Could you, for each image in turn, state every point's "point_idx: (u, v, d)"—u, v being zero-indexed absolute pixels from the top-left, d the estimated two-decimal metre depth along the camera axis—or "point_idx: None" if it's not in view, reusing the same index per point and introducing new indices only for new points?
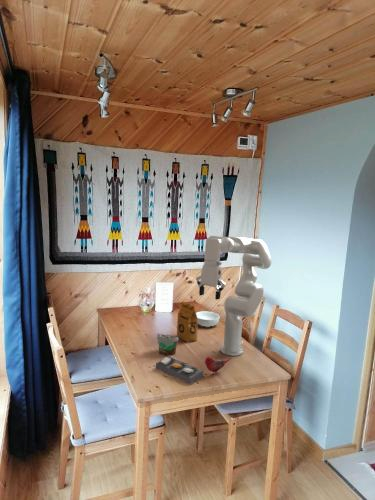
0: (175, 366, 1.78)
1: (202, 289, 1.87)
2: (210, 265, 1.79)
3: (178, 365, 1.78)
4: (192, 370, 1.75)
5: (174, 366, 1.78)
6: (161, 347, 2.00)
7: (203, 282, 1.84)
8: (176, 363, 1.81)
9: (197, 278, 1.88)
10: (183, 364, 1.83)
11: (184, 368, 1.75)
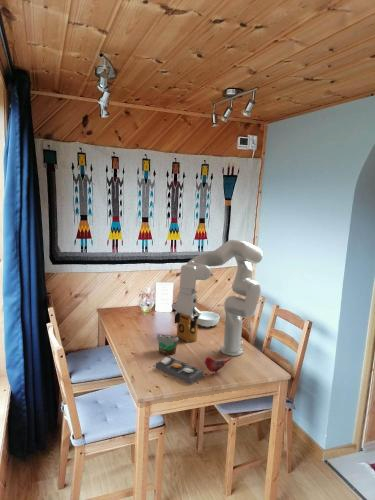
0: (175, 366, 1.78)
1: (177, 317, 1.82)
2: (185, 293, 1.74)
3: (178, 365, 1.78)
4: (192, 370, 1.75)
5: (174, 366, 1.78)
6: (161, 347, 2.00)
7: (178, 310, 1.79)
8: (176, 363, 1.81)
9: (173, 305, 1.83)
10: (183, 364, 1.83)
11: (184, 368, 1.75)
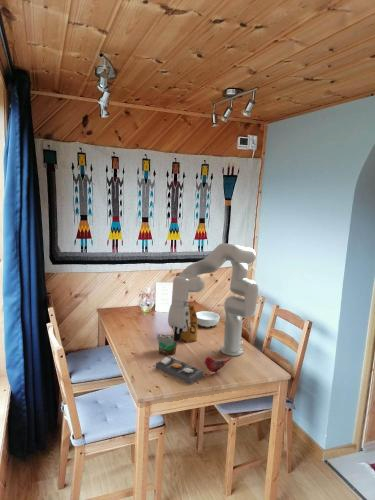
0: (175, 366, 1.78)
1: None
2: (177, 306, 1.71)
3: (178, 365, 1.78)
4: (192, 370, 1.75)
5: (174, 366, 1.78)
6: (161, 347, 2.00)
7: (170, 323, 1.76)
8: (176, 363, 1.81)
9: None
10: (183, 364, 1.83)
11: (184, 368, 1.75)
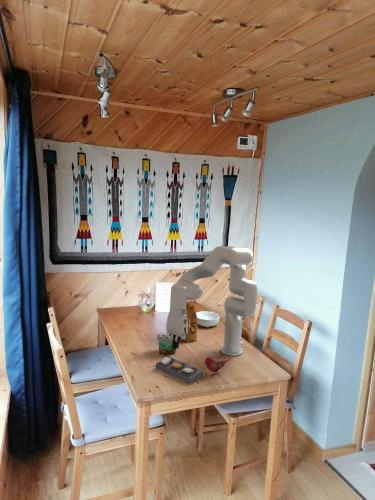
0: (175, 366, 1.78)
1: None
2: (175, 314, 1.71)
3: (178, 365, 1.78)
4: (192, 370, 1.75)
5: (174, 366, 1.78)
6: (161, 347, 2.00)
7: (169, 330, 1.76)
8: (176, 363, 1.81)
9: None
10: (183, 364, 1.83)
11: (184, 368, 1.75)
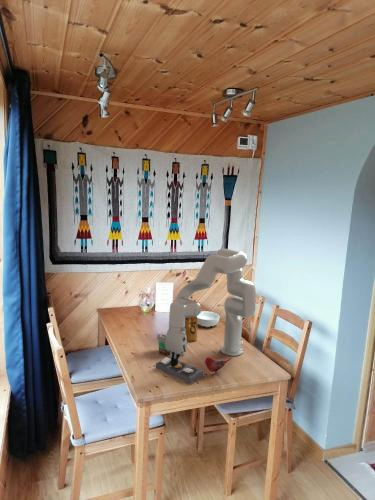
0: (175, 366, 1.78)
1: None
2: (174, 332, 1.72)
3: (178, 365, 1.78)
4: (192, 370, 1.75)
5: (174, 366, 1.78)
6: (161, 347, 2.00)
7: (168, 348, 1.77)
8: None
9: None
10: (183, 364, 1.83)
11: (184, 368, 1.75)
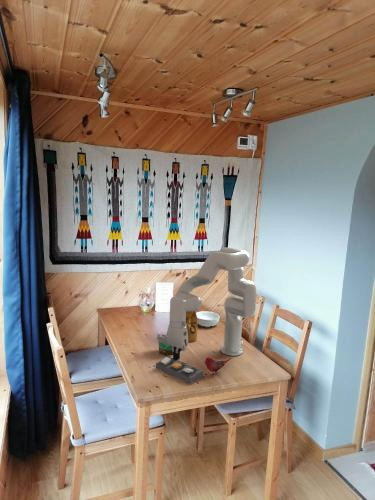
0: (175, 367, 1.78)
1: None
2: (175, 326, 1.72)
3: (178, 365, 1.78)
4: (192, 370, 1.75)
5: (174, 367, 1.78)
6: (161, 347, 2.00)
7: (169, 342, 1.77)
8: (176, 363, 1.81)
9: None
10: (183, 364, 1.83)
11: (184, 368, 1.75)
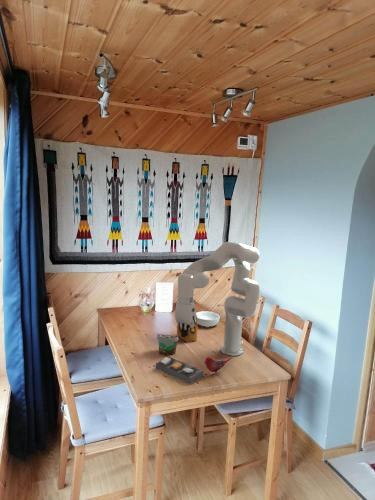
0: (175, 367, 1.78)
1: None
2: (183, 303, 1.73)
3: (178, 365, 1.78)
4: (192, 370, 1.75)
5: (174, 367, 1.78)
6: (161, 347, 2.00)
7: (177, 319, 1.79)
8: (176, 362, 1.81)
9: None
10: (183, 364, 1.83)
11: (184, 368, 1.75)
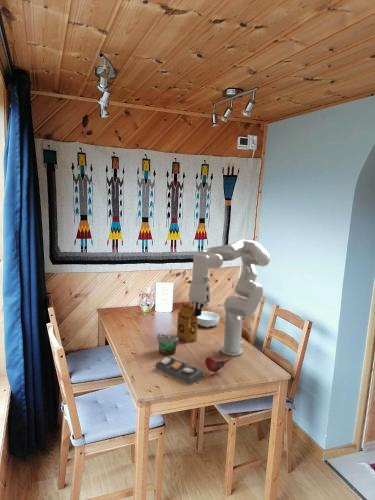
0: (175, 368, 1.78)
1: None
2: (198, 282, 1.78)
3: (177, 366, 1.78)
4: (192, 370, 1.75)
5: (174, 368, 1.78)
6: (161, 347, 2.00)
7: (191, 298, 1.83)
8: (176, 362, 1.81)
9: (190, 300, 1.86)
10: (183, 364, 1.83)
11: (184, 368, 1.75)
